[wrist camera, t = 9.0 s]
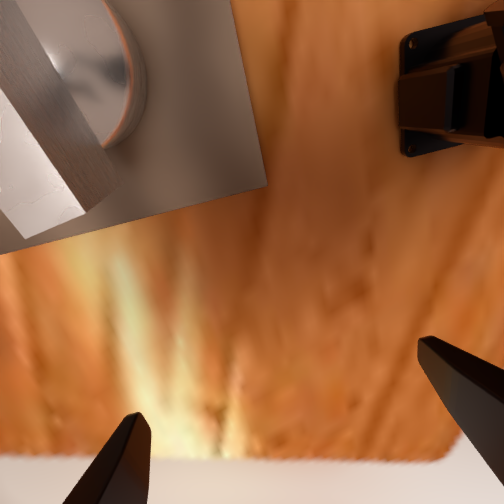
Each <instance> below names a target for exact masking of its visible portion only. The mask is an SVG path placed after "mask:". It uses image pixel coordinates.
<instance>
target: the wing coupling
mask: <svg viewBox="0 0 504 504" xmlns="http://www.w3.org/2000/svg"><path fill="white" fill-rule="evenodd" d="M147 87H148V86H147V73H146V67H145V63H144V59H143V56H142V52H141V50H140V47H139V45H138V42H137V40H136V38H135V37H134V35H133V33H132V31H131V29H130V28H129V26H128V25H127V23H126V22H125V20H124V19H123V18H122V17H121V15H120V14H119V13H118V12H117V11H116V9H115V8H114V7H113V6H112V5H111V4H110V3H109V2H108V1H107V0H0V209H1V210H2V212H3V213H4V214H5V215H6V216H7V218H8V219H9V220H10V221H11V223H12V224H13V225H14V226H15V227H16V229H17V230H18V231H19V232H20V234H21V235H22V236H23V237H24V238H25V239H27V238H29V237H31V236H34V235H36V234H38V233H41V232H43V231H45V230H48V229H50V228H52V227H55V226H57V225H60V224H62V223H64V222H67V221H69V220H71V219H74V218H76V217H78V216H81V215H83V214H85V213H87V212H88V211H89V210H91V209H92V208H93V207H94V206H96V205H97V204H98V203H100V202H101V201H102V200H103V199H105V198H106V197H107V196H109V195H110V194H111V193H112V192H114V191H115V190H116V189H117V188H119V187H120V186H121V185H123V184H124V183H123V182H122V180H121V178H120V176H119V175H118V173H117V171H116V170H115V168H114V166H113V165H112V163H111V161H110V160H109V158H108V156H107V155H106V153H105V151H104V150H105V149H108V148H111V147H113V146H115V145H117V144H119V143H120V142H121V141H123V140H124V139H125V138H127V137H128V136H129V135H130V134H131V133H132V131H133V130H134V129H135V127H136V126H137V124H138V123H139V121H140V119H141V117H142V114H143V111H144V108H145V104H146V99H147Z"/></svg>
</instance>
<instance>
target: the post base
mask: <svg viewBox="0 0 504 504" xmlns="http://www.w3.org/2000/svg"><path fill="white" fill-rule="evenodd" d="M107 1H108V2H109V3H110V4H111V5H112V6H113V7H114V8H115V9H116V11H117V12H118V13H119V14H120V15H121V17H122V18H123V19H124V20H125V22H126V23H127V25H128V26H129V28H130V29H131V31H132V33H133V35H134V37H135V38H136V40H137V42H138V45H139V47H140V50H141V52H142V56H143V59H144V63H145V67H146V73H147V86H148V87H147V99H146V104H145V108H144V111H143V114H142V117H141V119H140V121H139V123H138V124H137V126H136V127H135V129H134V130H133V131H132V133H131V134H130V135H129V136H128V137H127V138H125V139H124V140H123V141H121V142H120V143H119V144H117V145H115V146H113V147H111V148H108V149H105V150H104V151H105V153H106V155H107V156H108V158H109V160H110V161H111V163H112V165H113V166H114V168H115V170H116V171H117V173H118V175H119V176H120V178H121V180H122V182H123V183H124V184H123V185H121V186H120V187H119V188H117V189H116V190H115V191H114V192H112V193H111V194H110V195H109V196H107V197H106V198H105V199H103V200H102V201H101V202H100V203H98V204H97V205H96V206H94V207H93V208H92V209H91V210H89V211H88V212H87V213H85V214H83V215H81V216H78V217H76V218H74V219H71V220H69V221H67V222H64V223H62V224H60V225H57V226H55V227H52V228H50V229H48V230H45V231H43V232H41V233H38V234H36V235H34V236H31V237H29V238H27V239H25V238H24V237H23V236H22V235H21V234H20V232H19V231H18V230H17V229H16V227H15V226H14V225H13V224H12V223H11V221H10V220H9V219H8V218H7V216H6V215H5V214H4V213H3V212H2V210H1V209H0V255H2V254H6V253H10V252H13V251H17V250H21V249H25V248H29V247H33V246H37V245H41V244H44V243H48V242H52V241H56V240H60V239H64V238H68V237H72V236H75V235H79V234H83V233H87V232H91V231H95V230H99V229H103V228H107V227H110V226H114V225H118V224H122V223H126V222H130V221H134V220H138V219H141V218H145V217H149V216H153V215H157V214H161V213H165V212H169V211H172V210H176V209H180V208H184V207H188V206H192V205H196V204H200V203H204V202H207V201H211V200H215V199H219V198H223V197H227V196H231V195H235V194H238V193H242V192H246V191H250V190H254V189H258V188H262V187H266V186H268V183H267V179H266V174H265V169H264V164H263V159H262V154H261V150H260V145H259V140H258V135H257V130H256V125H255V121H254V116H253V111H252V106H251V101H250V96H249V91H248V87H247V82H246V77H245V72H244V67H243V62H242V58H241V53H240V48H239V43H238V38H237V33H236V29H235V24H234V19H233V14H232V9H231V4H230V0H107Z"/></svg>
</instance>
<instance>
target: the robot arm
mask: <svg viewBox="0 0 504 504" xmlns="http://www.w3.org/2000/svg"><path fill="white" fill-rule="evenodd" d="M411 39H412V40H413V43H414V45H413V48H412V49H411V48H410V47H409V42H410V40H411ZM398 106H399V126H400V127H401V153H402V155H403V156H406V157H415V156H419V155H423V154H427V153H430V152H434V151H438V150H442V149H446V148H450V147H454V146H458V145H461V144H472V145H480V146H489V147H497V148H504V0H497V1H496V2H495V3H493V4H492V5H491V6H489V7H488V8H487V9H485V10H484V14H483V15H479V16H475V17H471V18H467V19H463V20H459V21H456V22H452V23H448V24H444V25H440V26H436V27H432V28H428V29H424V30H420V31H417V32H413V33H411V34H408V35H406V36H405V37H404V38H403V40H402V42H401V46H400V79H399V81H398ZM411 145H412V150H411V151H410V152H409V151H408V149H409V147H410V146H411ZM417 357H418V361H419V364H420V365H421V367H422V369H423V370H424V372H425V374H426V375H427V377H428V379H429V380H430V382H431V384H432V385H433V387H434V389H435V390H436V392H437V394H438V395H439V397H440V399H441V400H442V402H443V404H444V405H445V407H446V408H447V410H448V411H449V413H450V414H451V416H452V417H453V418H454V420H455V421H456V422H457V424H458V425H459V427H460V428H461V429H462V431H463V432H464V433H465V435H466V436H467V437H468V439H469V440H470V441H471V443H472V444H473V445H474V447H475V448H476V449H477V451H478V452H479V453H480V455H481V456H482V457H483V459H484V460H485V461H486V463H487V464H488V465H489V467H490V468H491V469H492V471H493V472H494V474H495V475H496V476H497V478H498V479H499V480H500V482H501V483H502V484H503V486H504V370H503V369H501V368H499V367H497V366H495V365H493V364H491V363H489V362H487V361H485V360H482V359H480V358H478V357H476V356H474V355H472V354H470V353H468V352H466V351H464V350H462V349H460V348H458V347H455V346H453V345H451V344H449V343H447V342H445V341H443V340H441V339H439V338H437V337H435V336H426V337H422V338H419V340H418V352H417ZM150 452H151V429H150V427H149V425H148V423H147V422H146V420H145V418H144V417H143V415H142V414H141V413H140V412H136V413H132V414H129V415H127V416H126V417H125V418H124V419H123V420H122V422H121V423H120V424H119V426H118V427H117V429H116V430H115V431H114V433H113V434H112V436H111V437H110V438H109V440H108V441H107V442H106V444H105V445H104V447H103V448H102V449H101V451H100V452H99V454H98V455H97V456H96V458H95V459H94V460H93V462H92V463H91V465H90V466H89V467H88V469H87V470H86V472H85V473H84V474H83V476H82V477H81V479H80V480H79V481H78V483H77V484H76V485H75V487H74V488H73V490H72V491H71V493H70V494H69V495H68V497H67V498H66V499H65V501H64V502H63V504H147V498H148V490H149V471H150Z"/></svg>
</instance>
